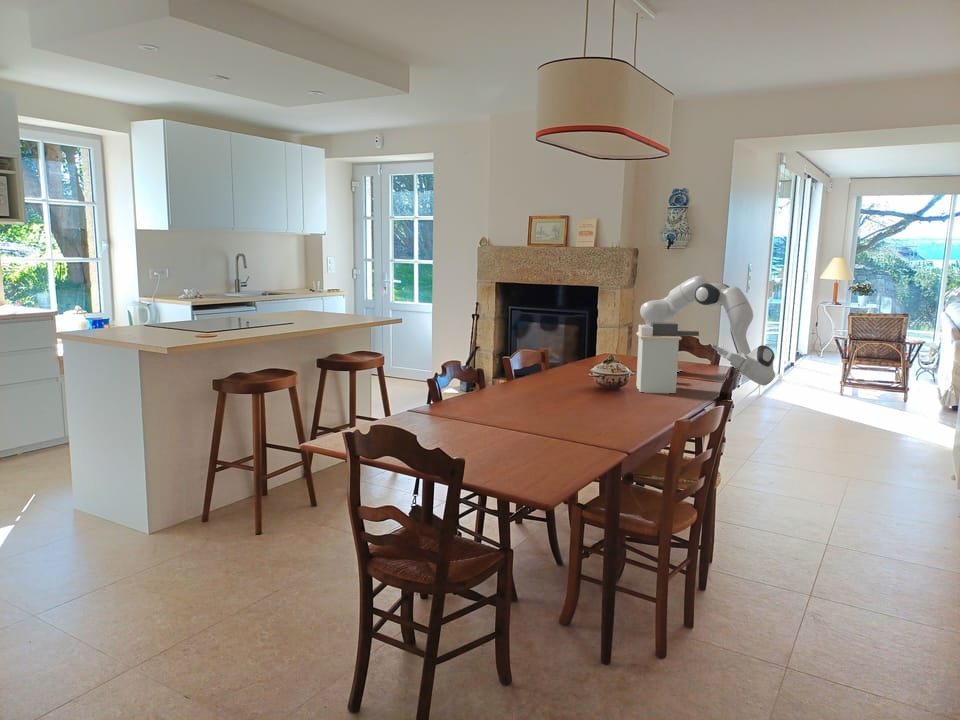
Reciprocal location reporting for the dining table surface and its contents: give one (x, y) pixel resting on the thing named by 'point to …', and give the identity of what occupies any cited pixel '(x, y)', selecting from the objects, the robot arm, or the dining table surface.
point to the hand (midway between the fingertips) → (714, 347)
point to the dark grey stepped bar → (670, 330)
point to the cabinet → (657, 363)
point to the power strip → (645, 330)
